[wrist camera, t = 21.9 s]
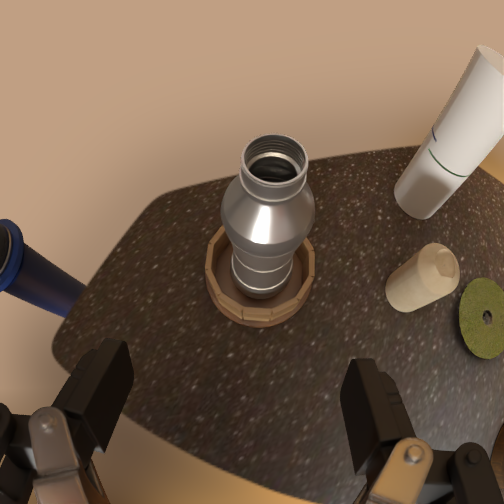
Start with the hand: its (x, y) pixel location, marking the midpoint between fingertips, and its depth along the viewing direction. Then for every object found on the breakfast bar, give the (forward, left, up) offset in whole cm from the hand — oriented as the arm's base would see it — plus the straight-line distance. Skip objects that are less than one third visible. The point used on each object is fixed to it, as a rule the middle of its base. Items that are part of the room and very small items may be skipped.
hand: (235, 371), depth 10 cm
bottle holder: (+1, +11, -23) cm, 25 cm away
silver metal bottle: (+1, +11, -22) cm, 24 cm away
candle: (+19, +10, -23) cm, 31 cm away
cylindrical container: (+23, +24, -23) cm, 40 cm away
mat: (+32, +6, -23) cm, 40 cm away
